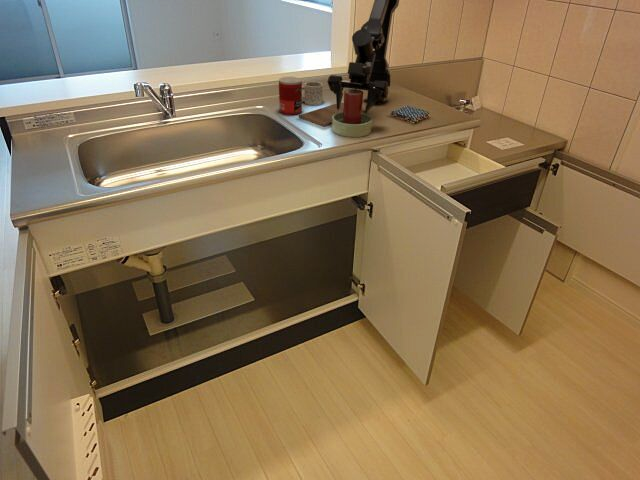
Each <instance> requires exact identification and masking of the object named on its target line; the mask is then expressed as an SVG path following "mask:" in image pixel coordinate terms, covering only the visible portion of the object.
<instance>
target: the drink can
mask: <svg viewBox="0 0 640 480" xmlns="http://www.w3.org/2000/svg"><path fill="white" fill-rule="evenodd" d="M343 91H344V92H343V103H344V109H343V123H345V124H353V125H354V124H361V116H362V109H363V101H364V90H359V89H352V88H348V89H345V90H343Z"/></svg>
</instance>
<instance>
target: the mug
mask: <svg viewBox="0 0 640 480" xmlns="http://www.w3.org/2000/svg"><path fill="white" fill-rule="evenodd" d="M323 86H324V84H323V83H322V82H319V81H308V82H304V85H302V90H304V96H302V102H304V104H305V105H308V106H319V105H322V104H323V91H324V89H323V88H324V87H323Z"/></svg>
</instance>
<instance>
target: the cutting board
mask: <svg viewBox="0 0 640 480" xmlns="http://www.w3.org/2000/svg"><path fill="white" fill-rule="evenodd" d="M343 109H344V102H341V105H340V108H339V110H337V102H336V103H333V104H329V105H327V106H324V107H321V108H317V109H315V110H311V111H307V112H304V113H300V114H298V119H299V120H300V119H301V120H303V121H306V122H307V123H308V122H309V123H311V124H314V125H316V126H319V127H322V128H327V127H329V126H332V116H333V115H334V114H336V113H339V112H343ZM362 113H365V109H363V108H362Z"/></svg>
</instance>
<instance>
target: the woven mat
mask: <svg viewBox="0 0 640 480" xmlns="http://www.w3.org/2000/svg"><path fill="white" fill-rule="evenodd" d="M389 117H391V118H396V119H398V120H401V121H406V122H408V123H410V124H415V123H419V121H421V120H422V121H423V120H424V119H425V120H427V119H428V118H429V117H430V112H428V110H426V111H425V110H424V109H420V108H416V107H413V106H409V105H406V106H405V105H403V106H401V107H399V108H396V109H394V110H391V111H390V113H389Z"/></svg>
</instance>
